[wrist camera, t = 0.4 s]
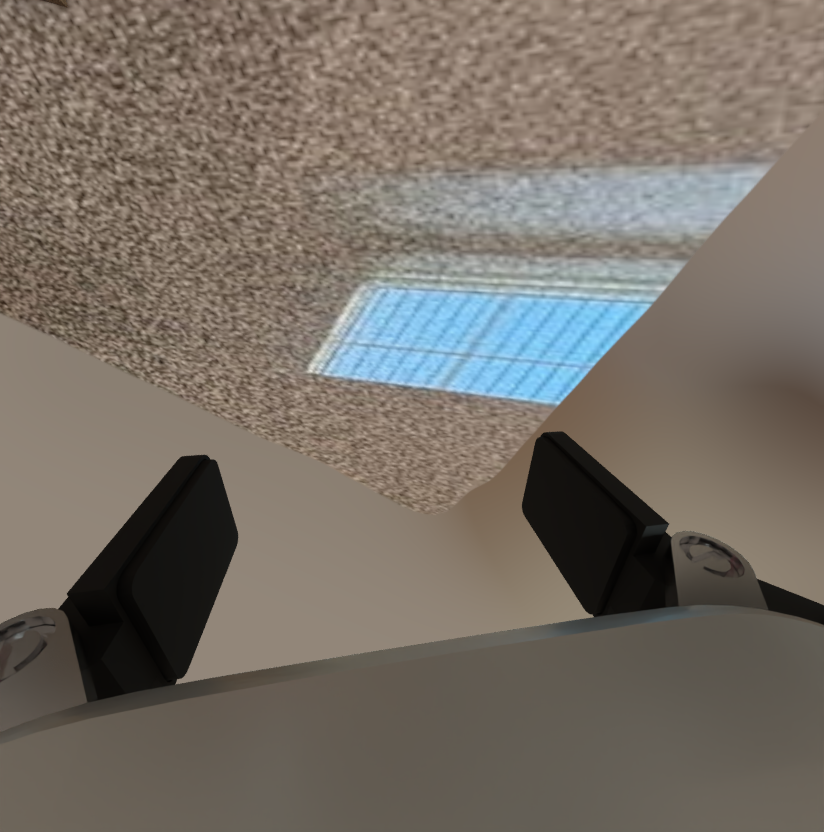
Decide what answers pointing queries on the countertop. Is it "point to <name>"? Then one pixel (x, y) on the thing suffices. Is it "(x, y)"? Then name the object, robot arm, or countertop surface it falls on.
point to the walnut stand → (58, 2)
